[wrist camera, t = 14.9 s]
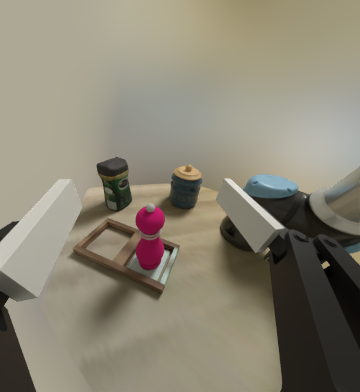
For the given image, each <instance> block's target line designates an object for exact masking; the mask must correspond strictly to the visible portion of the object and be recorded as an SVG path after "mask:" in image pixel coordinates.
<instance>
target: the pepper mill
mask: <svg viewBox="0 0 360 392" xmlns="http://www.w3.org/2000/svg"><path fill="white" fill-rule="evenodd" d="M164 222H165V217H164V213H163V212H162V211H161V209H159V208H158V207H155V206H154V204H152V203H149V204H148V205H147V206H146V207H144V208H142V209H141V210H140V211H139V212H138V213H137V215H136V225H137V227H138V229H139V234H140V236H141V239H140V241H139V242H138V244H137V247H136V256H137V259H138V260H139V264H140V266H141V267H142V268H143V269H145V270H153V269H155V268H157V267H158V266H159V265H160V263H161V259H162V257H163V254H164V245H163V242H162V240H161V239H160V238H159V236H160V234H161V231H162V227H163V225H164Z"/></svg>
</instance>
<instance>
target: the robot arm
mask: <svg viewBox="0 0 360 392" xmlns="http://www.w3.org/2000/svg"><path fill="white" fill-rule="evenodd" d="M216 201H217V202H218V203H219V205H220V206H221V207H222V209H223V210H224V211H225V213H226V214H227V216H226V217H225V218H224V219H223V221H222V223H221V232H222V234H223V236H224V237H225V238H226V239H227V240H228V241H229V242H230V243H231V244H232V245H234V246H235V247H237V248H239V249H242V250H245V251H254V252H255V253H259V252H264V251H265V250H266V248H267V247H269V249H270V251H269V252H268V253H267V254H266V255H265V256H264V260H265V259H266V258H267V257H269V259H268V260H267V261H269V263H270V272H271V281H272V290H273V300H274V309H275V318H276V327H277V336H278V346H279V355H280V364H281V373H282V389H281V391H280V392H360V265H359V264H358V263H357V262H356V261H355V260H354V259H353V258H352V257H351V256H350V255H349V254H351V253H355V252H358V251H360V167H359V168H357V169H356V170H355V171H353V172H352V173H350V174H349V175H348V176H346V177H345V178H344V179H342V180H341V181H340V182H338V183H337V184H335V185H334V186H333V187H322V188H319V189H316V190H315V191H314V192H312V193H311V194H310V195H309V194H306V193H303V192H300V191H298V185H297V184H296V183H294V182H293V181H289V180H288V179H286V178H283V177H279V176H274V175H267V174H262V175H255V176H253V177H251V178H250V179H249V181H248V182H247V184H246V186H245V187H244V188H243V190H242V189H241V188H240V187H238V185H237V184H235V183H234V182H233V181H232V180H231V179H223V182H222V184H221V187H220V190H219V192H218V195H217V198H216ZM82 207H83V206H82V204H81V201H80V199H79V196H78V194H77V191H76V188H75V186H74V183H73V181H72V179H59V180H58V181H57V182H56V183H55V184H54V186H52V188H51V189H50V190H49V191H48V192H47V193H46V194H45V195H44V196H43V197H42V198H41V199H40V200H39V202H37V204H36V205H35V206H34V207H33V208H32V209H31V210H30V211H29V212H28V213H27V214H26V215H25V216H24V217H23V218H22V219H21V221H17V222H12V223H10V224H9V225H7V226H5V227H4V228H2V229H1V230H0V392H36V390H35V387H34V384H33V381H32V379H31V376H30V373H29V370H28V367H27V364H26V362H25V358H24V356H23V353H22V350H21V347H20V344H19V342H18V338H17V336H16V333H15V330H14V327H13V324H12V322H11V318H10V316H9V313H8V310H7V309H6V308H5V307H4V305H5V303H6V302H7V300H8V298H9V297H10V298H11V299H13V300H15V301H17V302H18V301H23V300H28V299H33V298H37V297H38V296H39V294H40V292H41V290H42V288H43V286H44V284H45V282H46V280H47V278H48V276H49V274H50V272H51V270H52V268H53V266H54V264H55V262H56V260H57V258H58V256H59V254H60V252H61V250H62V248H63V246H64V244H65V242H66V240H67V238H68V236H69V234H70V232H71V230H72V228H73V226H74V224H75V222H76V220H77V218H78V216H79V214H80V211H81V209H82ZM325 261H327V262H328V263H329V264H330V266H328V267H327V268H325V269H323V268H322V265H321V264H323V263H324V262H325Z"/></svg>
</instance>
